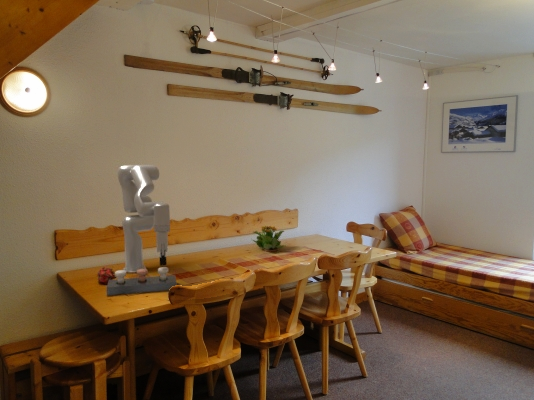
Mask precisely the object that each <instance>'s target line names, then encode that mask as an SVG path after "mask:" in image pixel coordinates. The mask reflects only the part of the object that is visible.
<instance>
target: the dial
mask: <svg viewBox="0 0 534 400" xmlns="http://www.w3.org/2000/svg"><path fill="white" fill-rule="evenodd" d="M148 273H149V272H148V269H147V268H146V269H138V270H137V272H136V276H138V278H139V282H146V277H147V276H146V275H148Z"/></svg>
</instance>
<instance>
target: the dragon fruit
mask: <svg viewBox="0 0 534 400" xmlns="http://www.w3.org/2000/svg"><path fill="white" fill-rule="evenodd" d="M96 275H97V276H96V277H98V278H97V280H98V282H100V283H102V284H105V285H106V284H107V285H108V281H109V280H116V279H117V277H115V271H114V270H113V268H111V267H108V266H104V267H101V268H100V269H99V271H98V272H97V274H96Z"/></svg>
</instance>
